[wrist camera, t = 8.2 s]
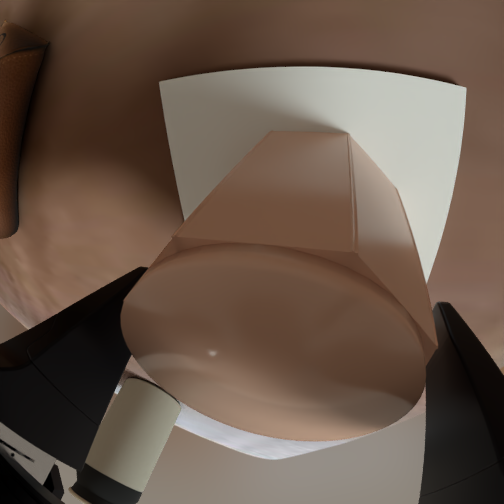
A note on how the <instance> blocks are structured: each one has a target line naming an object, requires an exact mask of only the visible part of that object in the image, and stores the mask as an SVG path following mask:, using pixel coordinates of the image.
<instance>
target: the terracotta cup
mask: <svg viewBox="0 0 504 504" xmlns="http://www.w3.org/2000/svg"><path fill="white" fill-rule="evenodd" d="M123 302H124V304H123V307H122V311H121V328H122V333H123V337H124V339H125V342H126V344H127V346H128V348H129V350H130V352H131V353H132V355H133V357H134V358H135V360H136V361H137V362H138V364H139V365H140V366H141V367H142V369H143V370H144V371H145V372H146V373H147V374H148V375H149V376H150V377H151V378H152V379H153V380H154V381H155V382H156V383H157V384H158V385H159V386H161V387H162V388H163V389H164V390H165V391H167V392H168V393H169V394H171V395H172V396H173V397H175V398H176V399H178V400H179V401H181V402H182V403H184V404H185V405H187V406H189V407H190V408H192V409H194V410H196V411H198V412H199V413H201V414H203V415H205V416H207V417H210V418H212V419H214V420H216V421H219V422H221V423H224V424H226V425H229V426H231V427H234V428H237V429H240V430H244V431H247V432H251V433H254V434H258V435H263V436H267V437H273V438H279V439H286V440H295V441H333V440H342V439H348V438H354V437H358V436H362V435H366V434H369V433H372V432H375V431H378V430H380V429H383V428H385V427H387V426H389V425H391V424H393V423H394V422H396V421H398V420H399V419H401V418H402V417H403V416H405V415H406V414H407V413H408V412H409V411H410V410H411V409H412V408H413V407H414V406H415V405H416V403H417V402H418V400H419V399H420V397H421V395H422V393H423V390H424V387H425V381H426V365H427V363H428V362H429V360H430V359H431V357H432V355H433V354H434V352H435V350H436V349H438V341H437V335H436V329H435V323H434V318H433V313H432V308H431V303H430V298H429V294H428V289H427V285H426V281H425V276H424V272H423V269H422V265H421V261H420V257H419V254H418V250H417V247H416V243H415V240H414V237H413V233H412V230H411V227H410V224H409V221H408V218H407V215H406V212H405V209H404V206H403V203H402V200H401V198H400V195H399V192H398V189H397V188H395V186H394V185H393V184H392V183H391V181H390V180H389V179H388V178H387V177H386V175H385V174H384V173H383V172H382V171H381V169H380V168H379V167H378V166H377V165H376V164H375V162H374V161H373V160H372V159H371V158H370V157H369V156H368V154H367V153H366V152H365V151H364V150H363V149H362V148H361V147H360V146H359V144H358V143H357V142H356V141H355V140H354V139H353V138H352V137H351V136H350V134H348V133H347V134H344V133H328V132H304V131H270V132H268V133H267V134H266V135H265V136H264V137H263V138H262V139H261V140H260V141H259V142H258V143H257V144H256V145H255V146H254V147H253V148H252V149H251V150H250V151H249V152H248V153H247V155H246V156H245V157H244V158H243V159H242V160H241V161H240V162H239V163H238V164H237V165H236V166H235V167H234V168H233V169H232V170H231V171H230V172H229V173H228V174H227V175H226V176H225V177H224V178H223V180H222V181H221V182H220V183H219V184H218V185H217V186H216V187H215V188H214V189H213V190H212V191H211V192H210V193H209V195H208V196H207V197H206V198H205V199H204V200H203V201H202V202H201V203H200V204H199V206H198V207H197V208H196V209H195V210H194V211H193V212H192V213H191V215H190V216H189V217H188V218H187V219H186V220H185V221H184V222H183V224H182V225H181V226H180V227H179V228H178V229H177V230H176V232H175V233H174V234H173V235H172V240H171V241H170V242H169V243H168V245H167V246H166V247H165V248H164V250H163V251H162V252H161V253H160V255H159V256H158V257H157V258H156V260H155V261H154V262H153V263H152V265H151V266H150V267H149V268H148V269H147V271H146V272H145V273H144V274H143V276H142V277H141V278H140V280H139V281H138V282H137V283H136V285H135V286H134V287H133V288H132V290H131V291H130V292H129V294H128V295H127V296H126V297H125V299H124V300H123Z"/></svg>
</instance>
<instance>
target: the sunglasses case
mask: <svg viewBox="0 0 504 504" xmlns="http://www.w3.org/2000/svg"><path fill="white" fill-rule="evenodd" d="M48 44H49V43H47V41H45V40H44V39H42V38H41V37H38V36H37V35H35V34H33V33H31V32H29V31H28V30H26V29H24V28H22V27H20V26H18V25H16V24H14V23H8V22H7V21H6V20H4V23H3V24H2V26H1V28H0V239H3V238H8V237H11V236H12V235H13V234H15V233H16V232H17V230H18V227H19V221H18V203H17V179H18V169H19V161H20V152H21V141H22V136H23V132H24V127H25V122H26V117H27V112H28V107H29V103H30V98H31V95H32V91H33V87H34V84H35V81H36V77H37V73H38V70H39V67H40V65H41V62H42V60H43V56H44V51H45V48H46V47H47V46H48Z"/></svg>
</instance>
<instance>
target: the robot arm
mask: <svg viewBox="0 0 504 504" xmlns="http://www.w3.org/2000/svg"><path fill="white" fill-rule="evenodd" d="M147 269H148V267H138V268H136V269H135V270H133V271H131V272H129V273H127V274H125V275H124V276H122V277H120V278H118V279H116V280H115V281H113V282H111V283H109V284H107V285H106V286H104V287H102V288H100V289H99V290H97V291H95V292H93V293H92V294H90V295H88V296H86V297H85V298H83V299H81V300H79V301H78V302H76V303H74V304H72V305H71V306H69V307H67V308H66V309H64V310H62V311H61V312H59V313H58V314H55V315H54V316H52V317H50V318H49V319H47V320H45V321H43V322H42V323H40V324H38V325H36V326H35V327H33V328H31V329H29V330H27V331H25V332H23V333H21V334H19V335H17V336H15V337H14V338H12V339H10V340H8V341H6V342H4V343H2V344H0V504H65V503H64V502H62V501H61V498H62V496H63V494H64V489H63V485H62V481H61V477H60V473H59V469H58V466H57V465H55V461H56V460H59V461H61V462H63V463H65V464H66V465H69V466H70V467H72V468H74V469H76V470H78V471H80V472H81V471H82V469H83V467H84V464H85V461H86V459H87V456H88V454H89V451H90V449H91V446H92V444H93V441H94V439H95V436H96V434H97V431H98V429H99V426H100V424H101V421H102V419H103V417H104V414H105V412H106V410H107V407H108V405H109V403H110V400H111V398H112V396H113V394H114V391H115V389H116V387H117V385H118V383H119V380H120V378H121V376H122V374H123V372H124V369H125V367H126V365H127V363H128V361H129V359H130V357H131V355H132V353H131V352H130V350H129V348H128V346H127V344H126V342H125V339H124V337H123V333H122V328H121V311H122V307H123V304H124V302H123V300H124V299H125V297H126V296H127V295H128V294H129V292H130V291H131V290H132V288H133V287H134V286H135V285H136V283H137V282H138V281H139V280H140V278H141V277H142V276H143V274H144V273H145V272H146V271H147ZM432 313H433V318H434V323H435V329H436V335H437V341H438V349H436V350H435V352H434V354H433V355H432V357H431V359H430V360H429V362H428V363H427V365H426V381H425V383H426V433H425V453H424V464H423V474H422V483H421V491H420V498H419V503H418V504H504V375H503V374H502V372H501V371H500V369H499V368H498V366H497V365H496V363H495V362H494V360H493V359H492V358H491V356H490V355H489V353H488V352H487V351H486V349H485V348H484V346H483V345H482V344H481V342H480V341H479V340H478V338H477V337H476V336H475V334H474V333H473V332H472V330H471V329H470V328H469V326H468V325H467V324H466V323H465V321H464V320H463V319H462V317H461V316H460V315H459V314H458V312H457V311H456V310H455V309H454V308H453V306H452V305H451V304H450V303H448V302H437V303H436V304H435V306H434V308H433V310H432Z"/></svg>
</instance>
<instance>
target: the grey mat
mask: <svg viewBox="0 0 504 504" xmlns="http://www.w3.org/2000/svg"><path fill="white" fill-rule="evenodd" d="M159 86H160V93H161V99H162V106H163V112H164V118H165V124H166V130H167V136H168V141H169V147H170V152H171V157H172V163H173V168H174V173H175V178H176V183H177V188H178V193H179V197H180V202H181V207H182V211H183V216H184V220H186V219H187V218H188V217H189V216H190V215H191V213H192V212H193V211H194V210H195V209H196V208H197V207H198V206H199V204H200V203H201V202H202V201H203V200H204V199H205V198H206V197H207V196H208V195H209V193H210V192H211V191H212V190H213V189H214V188H215V187H216V186H217V185H218V184H219V183H220V182H221V181H222V180H223V178H224V177H225V176H226V175H227V174H228V173H229V172H230V171H231V170H232V169H233V168H234V167H235V166H236V165H237V164H238V163H239V162H240V161H241V160H242V159H243V158H244V157H245V156H246V155H247V153H248V152H249V151H250V150H251V149H252V148H253V147H254V146H255V145H256V144H257V143H258V142H259V141H260V140H261V139H262V138H263V137H264V136H265V135H266V134H267V133H268V132H270V131H304V132H328V133H344V134H347V133H348V134H350V136H351V137H352V138H353V139H354V140H355V141H356V142H357V143H358V144H359V146H360V147H361V148H362V149H363V150H364V151H365V152H366V153H367V154H368V156H369V157H370V158H371V159H372V160H373V161H374V162H375V164H376V165H377V166H378V167H379V168H380V169H381V171H382V172H383V173H384V174H385V175H386V177H387V178H388V179H389V180H390V181H391V183H392V184H393V185H394V186H395V188H397V189H398V192H399V195H400V198H401V200H402V203H403V206H404V209H405V212H406V215H407V218H408V221H409V224H410V227H411V230H412V233H413V237H414V240H415V243H416V247H417V250H418V254H419V257H420V261H421V265H422V269H423V272H424V276H425V281H426V283H427V281H428V278H429V275H430V272H431V269H432V266H433V263H434V260H435V257H436V254H437V251H438V247H439V244H440V241H441V237H442V234H443V230H444V226H445V223H446V219H447V215H448V211H449V207H450V202H451V198H452V194H453V189H454V184H455V179H456V174H457V168H458V162H459V156H460V150H461V142H462V135H463V126H464V116H465V103H466V88H465V87H461V86H457V85H454V84H449V83H445V82H441V81H436V80H431V79H427V78H421V77H416V76H410V75H404V74H398V73H390V72H383V71H374V70H364V69H352V68H336V67H268V68H252V69H240V70H230V71H221V72H213V73H206V74H199V75H192V76H186V77H181V78H175V79H170V80H165V81H160V82H159Z"/></svg>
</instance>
